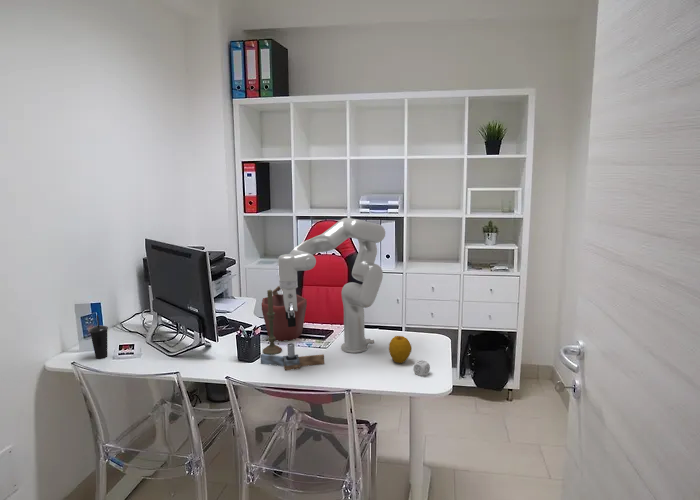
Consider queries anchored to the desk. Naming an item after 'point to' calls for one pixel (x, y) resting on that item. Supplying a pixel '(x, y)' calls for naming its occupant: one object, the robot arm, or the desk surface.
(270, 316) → the candlestick holder
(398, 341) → the apple
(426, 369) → the die
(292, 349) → the pin
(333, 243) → the robot arm
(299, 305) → the bucket
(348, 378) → the desk surface
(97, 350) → the drinking cup
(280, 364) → the hammer
